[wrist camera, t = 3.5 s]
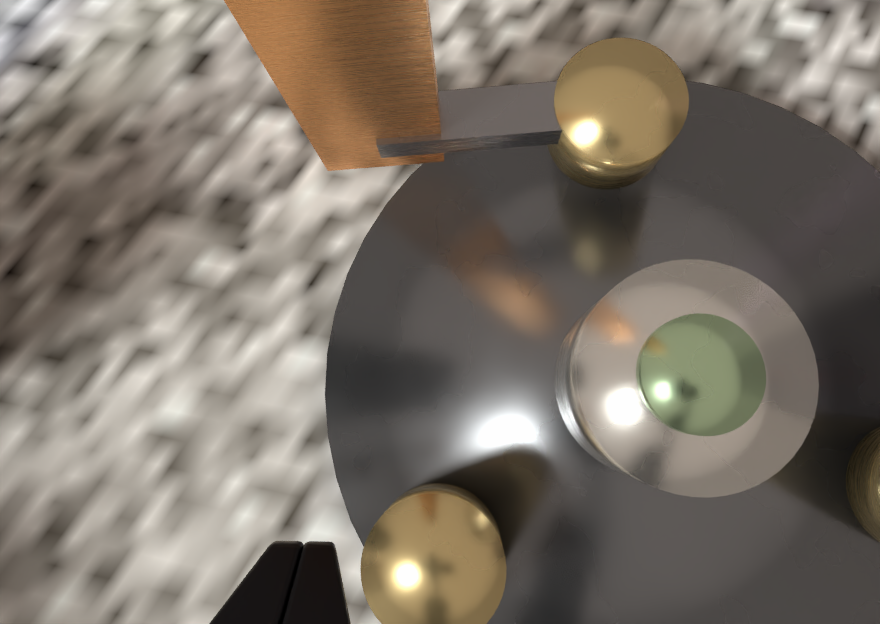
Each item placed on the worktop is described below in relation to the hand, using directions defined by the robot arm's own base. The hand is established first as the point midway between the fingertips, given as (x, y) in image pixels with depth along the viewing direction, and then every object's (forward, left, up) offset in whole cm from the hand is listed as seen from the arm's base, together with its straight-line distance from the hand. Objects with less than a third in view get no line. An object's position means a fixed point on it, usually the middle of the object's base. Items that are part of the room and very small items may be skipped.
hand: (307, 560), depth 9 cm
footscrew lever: (+9, -7, -12) cm, 16 cm away
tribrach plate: (-1, -8, -13) cm, 15 cm away
